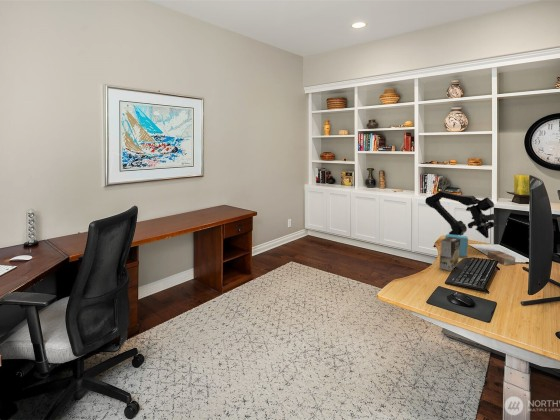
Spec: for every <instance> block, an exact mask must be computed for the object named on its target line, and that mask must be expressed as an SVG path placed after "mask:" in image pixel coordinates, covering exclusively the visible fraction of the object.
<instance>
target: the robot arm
mask: <svg viewBox="0 0 560 420" xmlns="http://www.w3.org/2000/svg"><path fill="white" fill-rule="evenodd" d="M442 198H444V199H447V200H451V201H455V202H459V203H460V204H462V205H464V206H467V207H466V209H465V211H467V212H470V215H471V216H472V217H471V220H473V221H470V222H469V223H467V225H466V224H465V222H463V221H462V220H459V221H458V220H457V219H456V218H454V217H453V215H452V214H451V213H450V212H449V211H448V210H447V209H446V208H445V207H444V206H443V205H442V204H441V201H440V200H442ZM424 202H425V205H428V207H430V208H432V209H434V210H435V211H436V212H437V213H438V214H439V215H440V216H441V217H442V218H443V220H445V221H446V223H448V224H449V225H450V229H451V230H450V231H449V232H448V234H451V235H462V236H464V234H465V233H467V230H468V229H473V227H476V228H475V231H477V232H478V233H479V234H481V235H482V236H483V237H484V238H486V239H489V238H490V237H489V236H490V235H489V229H493V228H494V227H497V224H496V222H494V221H495V220H496V219H497V216H496V215H495V214H494V213H490V214H485V213H483V212H486V211H489V210H490V209H492V208H494V207H495V203H494V202H493V201H492V200H491V199H490V198H489V197H487V196H486V197H485V198H483V199H481V200H480V199H478V198H476V196H474V195H468V194H467V195H465V194H464V195H463V194H462V195H461V194H457V193H453V192H449V191H445V190H440V191H438V192H436V193H434V194H432V195H431V196H428V197H426V198H425V201H424ZM482 211H483V212H482ZM467 228H468V229H467Z"/></svg>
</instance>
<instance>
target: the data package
mask: <svg viewBox="0 0 560 420" xmlns="http://www.w3.org/2000/svg"><path fill="white" fill-rule="evenodd" d="M448 237H453V238H458V239H460V249H459V258H466V257H467V255H468V246H469V245H468V244H469V238H468V236H466V235H451V234H449V233H448V234H446V235H445V236H444V239H445V238H448Z"/></svg>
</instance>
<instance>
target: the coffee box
mask: <svg viewBox="0 0 560 420" xmlns="http://www.w3.org/2000/svg"><path fill="white" fill-rule="evenodd" d="M440 243H441V245H440V254H439V255H440V256H439V266H438V269H441V270H444V271H449V272H451V271H453V270H455V269H456V268H455V267H456V266H457V265H459V258H460V257H459V249H460V239H458V238H453V237H448V238H445V237H444V238H443V239H441V242H440ZM454 268H455V269H454Z"/></svg>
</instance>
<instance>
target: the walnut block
mask: <svg viewBox="0 0 560 420" xmlns="http://www.w3.org/2000/svg"><path fill="white" fill-rule="evenodd" d="M486 258H487V259H489V260H491V259H493V260H497V261H498V262H497V263H498V264H501V265H503V266H508V265H509V266H510V265H515V264H516V257H515V256H513V255H510V254H508V253H505V252H503V251H500V250H489V251H487V257H486ZM493 260H492V261H493Z"/></svg>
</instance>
